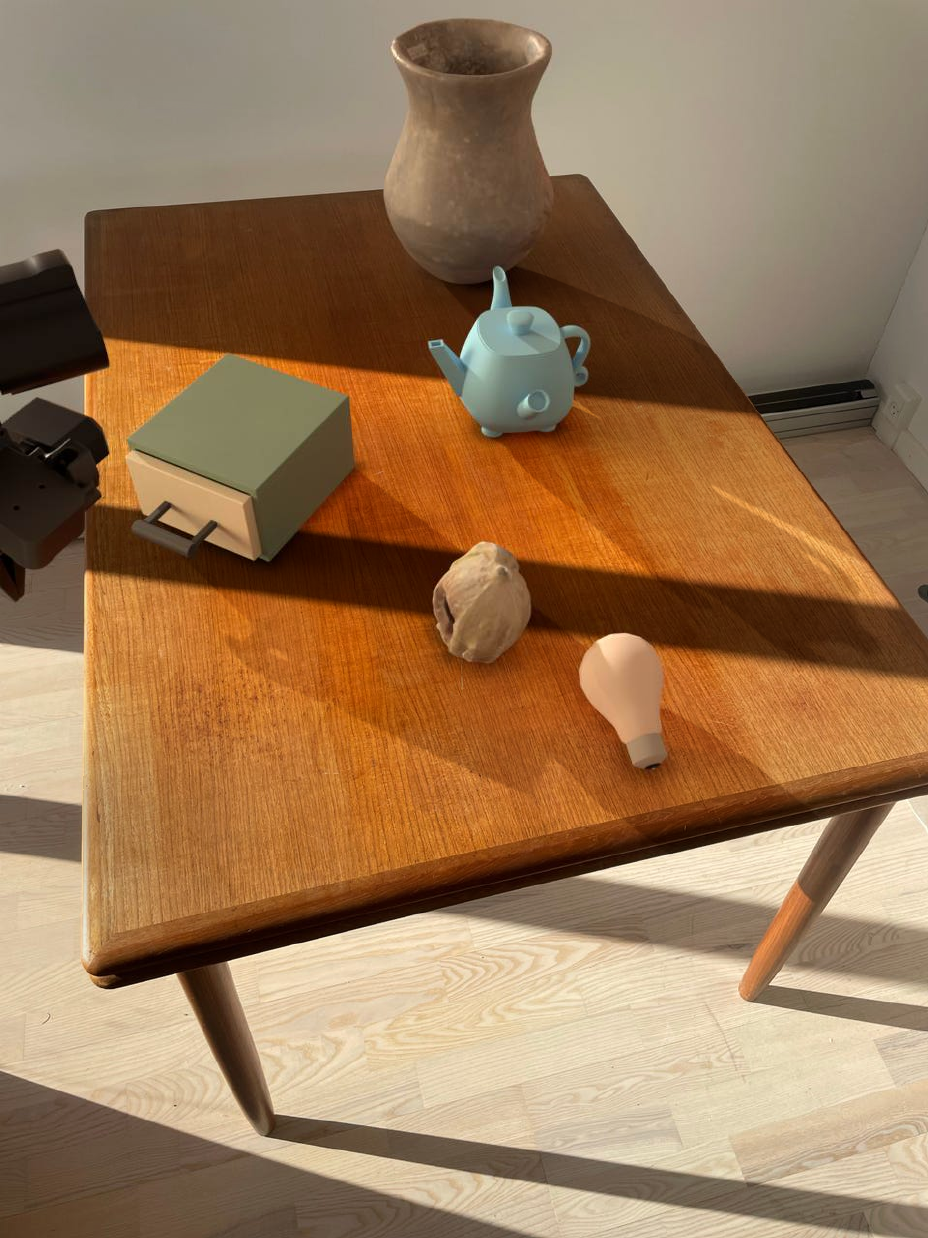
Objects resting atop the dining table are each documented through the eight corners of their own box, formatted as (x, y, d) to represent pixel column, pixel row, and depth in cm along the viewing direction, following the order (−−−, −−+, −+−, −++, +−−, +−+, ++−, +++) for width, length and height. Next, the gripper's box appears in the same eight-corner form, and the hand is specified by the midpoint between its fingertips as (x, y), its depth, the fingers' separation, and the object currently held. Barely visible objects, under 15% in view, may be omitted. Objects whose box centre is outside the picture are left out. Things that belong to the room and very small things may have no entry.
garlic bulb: (467, 616, 86) (474, 513, 81) (550, 648, 82) (563, 541, 77) (403, 660, 79) (407, 549, 74) (490, 697, 75) (500, 583, 70)
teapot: (412, 413, 100) (411, 317, 92) (491, 354, 108) (497, 260, 99) (532, 476, 95) (543, 380, 86) (608, 409, 102) (624, 314, 93)
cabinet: (269, 562, 86) (256, 490, 80) (148, 511, 90) (125, 438, 84) (355, 467, 95) (349, 395, 88) (240, 424, 99) (227, 352, 92)
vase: (372, 303, 113) (361, 74, 94) (400, 223, 126) (395, 6, 107) (540, 319, 112) (563, 91, 93) (551, 237, 125) (573, 20, 105)
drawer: (225, 593, 83) (211, 536, 77) (111, 543, 86) (90, 486, 81) (336, 472, 93) (331, 415, 88) (230, 431, 96) (219, 374, 91)
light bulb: (701, 746, 69) (651, 610, 73) (613, 771, 69) (568, 633, 73) (690, 767, 75) (645, 640, 79) (609, 790, 75) (568, 661, 79)
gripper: (-107, 570, 46) (3, 747, 58) (146, 367, 57) (195, 551, 69) (-265, 493, 49) (-130, 676, 61) (3, 314, 60) (74, 499, 72)
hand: (14, 597), depth 66 cm, fingers closed
